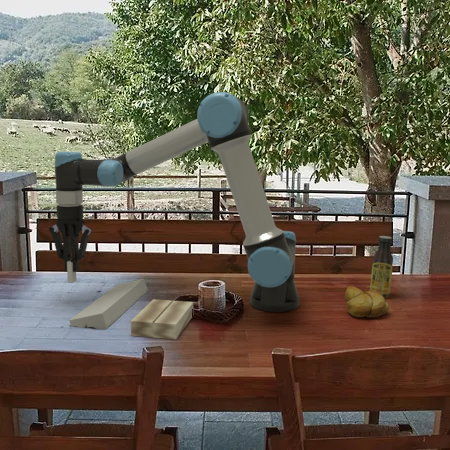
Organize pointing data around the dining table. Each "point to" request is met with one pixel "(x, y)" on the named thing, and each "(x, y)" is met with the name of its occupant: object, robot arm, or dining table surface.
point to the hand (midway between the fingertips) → (72, 281)
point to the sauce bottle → (382, 267)
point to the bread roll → (365, 303)
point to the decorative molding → (110, 305)
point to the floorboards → (162, 319)
